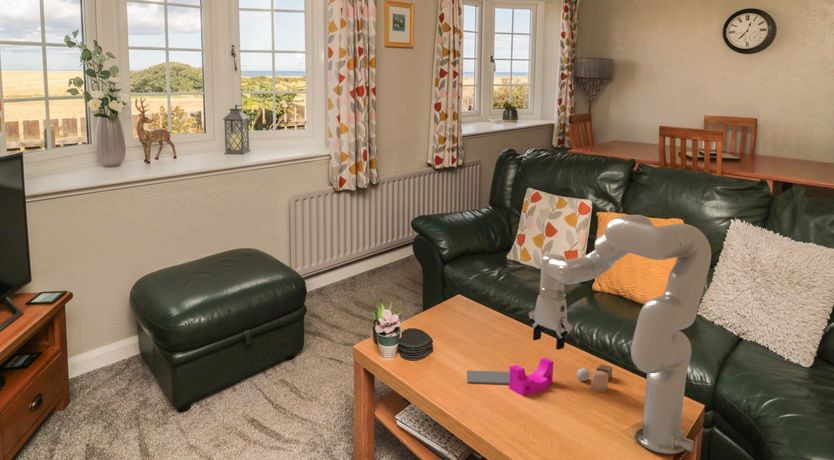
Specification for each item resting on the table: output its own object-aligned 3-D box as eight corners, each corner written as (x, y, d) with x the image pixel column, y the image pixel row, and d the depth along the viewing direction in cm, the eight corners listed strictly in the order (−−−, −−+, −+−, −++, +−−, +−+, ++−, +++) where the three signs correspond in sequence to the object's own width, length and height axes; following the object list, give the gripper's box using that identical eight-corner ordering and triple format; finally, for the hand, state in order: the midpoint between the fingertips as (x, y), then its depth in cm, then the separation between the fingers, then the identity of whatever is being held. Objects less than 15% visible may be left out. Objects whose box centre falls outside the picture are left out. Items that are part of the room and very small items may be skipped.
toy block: (522, 396, 176) (523, 373, 175) (508, 389, 182) (509, 366, 180) (557, 386, 184) (559, 364, 183) (544, 379, 189) (545, 357, 188)
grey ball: (591, 381, 188) (592, 369, 187) (584, 384, 186) (584, 372, 185) (581, 377, 191) (582, 365, 190) (573, 379, 189) (574, 368, 188)
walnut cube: (611, 378, 191) (612, 366, 190) (608, 382, 187) (609, 370, 187) (599, 375, 193) (600, 364, 192) (595, 379, 189) (596, 367, 189)
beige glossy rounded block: (610, 389, 182) (611, 374, 181) (600, 393, 179) (601, 378, 178) (597, 384, 186) (598, 369, 185) (587, 388, 183) (588, 373, 182)
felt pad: (517, 373, 193) (517, 372, 193) (520, 385, 184) (520, 383, 184) (466, 372, 194) (466, 370, 194) (467, 383, 185) (467, 381, 185)
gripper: (581, 297, 180) (577, 350, 183) (539, 285, 193) (535, 334, 196) (565, 301, 175) (561, 355, 178) (523, 288, 189) (520, 338, 192)
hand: (548, 344), depth 187 cm, fingers open, 9 cm apart
